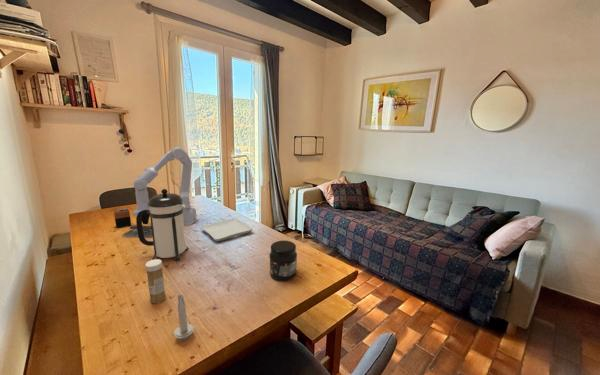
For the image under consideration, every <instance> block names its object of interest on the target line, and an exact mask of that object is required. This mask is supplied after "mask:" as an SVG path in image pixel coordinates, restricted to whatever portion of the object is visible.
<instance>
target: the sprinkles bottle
mask: <svg viewBox="0 0 600 375" xmlns="http://www.w3.org/2000/svg"><path fill="white" fill-rule="evenodd" d="M162 261H163V260H161V259H160V258H159V259H156V258H154V260H152V259H151V260H148V261H147V262H146V263H145V265H144V267H145V270H146V273H147V274H146V275H147V276H146V277H147V284H148V292H149V293H148V294H149V302H150V303H151V304H159V303H161V302H163V301H165V299H166V296H167V295H166V292H165V289H166V288H165V281H164V273H163V262H162Z"/></svg>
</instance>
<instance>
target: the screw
mask: <svg viewBox="0 0 600 375" xmlns="http://www.w3.org/2000/svg"><path fill="white" fill-rule="evenodd" d="M184 299H185V298H184V294H179V295H177V303H178V304H177V312H178V313H177V314H178V322H179V323H178V324H179V326H178V327H176V329H174V332H173V336H174V338H176V339H179V341H183V342H184V341H186V340H188V339H190V336H191V335H192V334H193V333H194V331H195V326H194V325H193V324H191V323H188V319H187V309H186V308H187V307H186V302H185V300H184Z"/></svg>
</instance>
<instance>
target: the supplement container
mask: <svg viewBox="0 0 600 375" xmlns="http://www.w3.org/2000/svg"><path fill="white" fill-rule="evenodd" d="M297 260H298V253H297V245H296V243H294V242H292V241H289V240H278V241H275V242H273V243H272V244H271V245H270V252H269V274H270V277H271V278H273V279H274V280H277V281H281V282H283V281H284V282H285V281H290V280H291V279H293V278H294V277H295V276H296V275H297V273H298V272H297V271H298V270H297V268H298V267H297V263H298V262H297Z"/></svg>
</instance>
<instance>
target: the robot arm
mask: <svg viewBox="0 0 600 375" xmlns="http://www.w3.org/2000/svg"><path fill="white" fill-rule="evenodd" d="M175 159H176V161H177V160H178V161H179V162H180V164H182V169H181V170H182V173H181V179H180V180H181V181H180V190H179V194H178V195H179V196H180V197H181V199H182V202H183V203H184V205H185V208H183V223H184V225H185V226H189V225H190V226H192V225H193V224H194V223H195V222H197V221H198V219H197V209H196V208H194V207H191V202H190V187H191V177H192V167H193V161H192V160H191V158H190V156H189V154H188V153H187V151H185V150H184V149H183V148H182V147H180V146H174V147H173V148H172V149H170V150H169V151H167V153H165V154H164V155H163V156H162V157H161V158H160V159H159V160H158V161H157V162H156V164H154V166H151V167H150V166H149V167H147V168H145V169H144V172H143V173H142V174H141V175H138V176H137V177H138V178H136V179H135V180H134V181H133V188H134V191H135V193H134V195H135V200H136V201H135V202H136V208H135V210H134V211H133V212H132V216H133V217H137V215H138V213H139V212H141V211H142V210H150V209H149V206H148V202H149V200H150V198H149V191H148V188H147V186H148V184H151V182H152V181H153V180H154V179H155V178H156V177H158V175H159V171H160V170H161V169H162V168H164V166H166V165H167V164H168V162H172V161H175ZM149 222H150V214H144V215H143V216H142V224H143V225H149Z"/></svg>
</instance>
